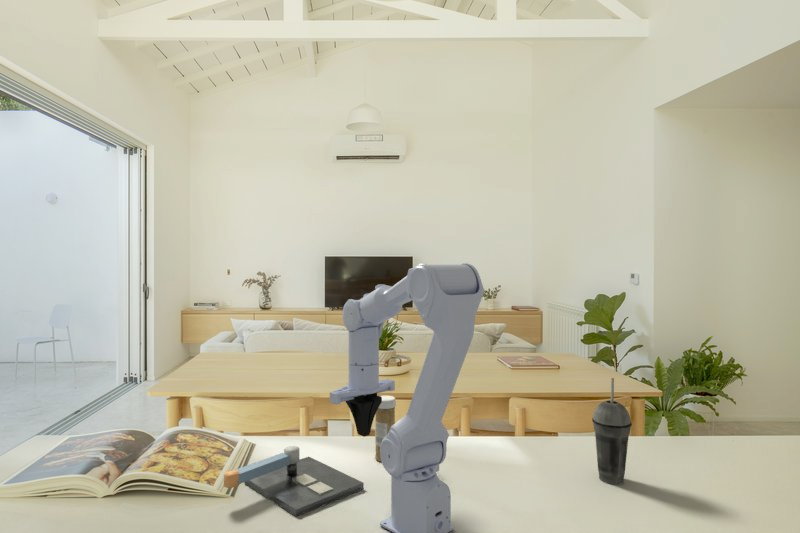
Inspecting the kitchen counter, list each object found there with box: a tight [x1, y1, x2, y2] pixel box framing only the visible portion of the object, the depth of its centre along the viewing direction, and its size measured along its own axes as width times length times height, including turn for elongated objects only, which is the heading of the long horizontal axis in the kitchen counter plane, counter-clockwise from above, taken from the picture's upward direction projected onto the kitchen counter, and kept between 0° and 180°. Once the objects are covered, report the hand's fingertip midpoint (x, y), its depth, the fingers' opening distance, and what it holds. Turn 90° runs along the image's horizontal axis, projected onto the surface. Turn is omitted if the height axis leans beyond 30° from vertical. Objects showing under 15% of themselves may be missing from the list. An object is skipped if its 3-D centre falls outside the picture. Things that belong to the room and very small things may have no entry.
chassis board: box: [244, 456, 364, 517], centre depth 99 cm, size 18×15×3 cm
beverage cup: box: [591, 377, 633, 485], centre depth 102 cm, size 7×7×20 cm
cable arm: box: [223, 445, 300, 489], centre depth 97 cm, size 16×3×2 cm, turn 141°
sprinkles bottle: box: [374, 394, 397, 463], centre depth 113 cm, size 5×5×14 cm
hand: (363, 434), depth 98 cm, fingers closed
